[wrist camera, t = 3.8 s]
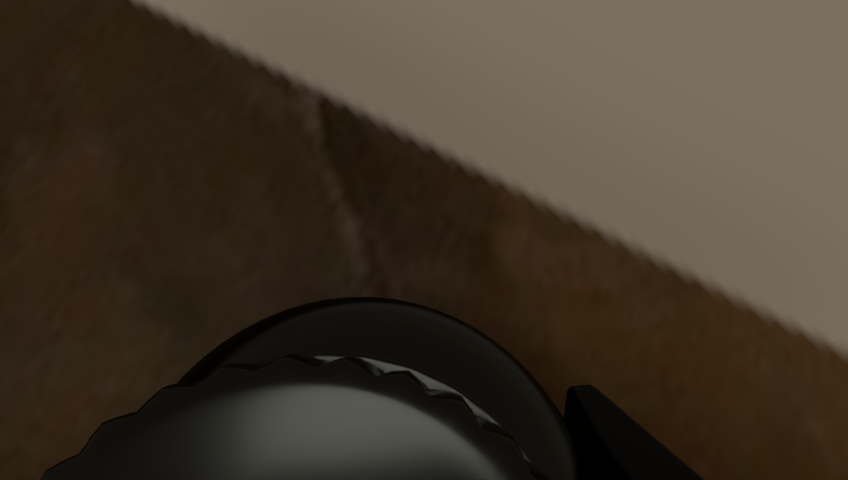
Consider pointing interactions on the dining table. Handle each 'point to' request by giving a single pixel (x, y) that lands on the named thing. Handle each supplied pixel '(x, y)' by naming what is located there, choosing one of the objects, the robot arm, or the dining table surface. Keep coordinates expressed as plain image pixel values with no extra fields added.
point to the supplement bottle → (342, 406)
